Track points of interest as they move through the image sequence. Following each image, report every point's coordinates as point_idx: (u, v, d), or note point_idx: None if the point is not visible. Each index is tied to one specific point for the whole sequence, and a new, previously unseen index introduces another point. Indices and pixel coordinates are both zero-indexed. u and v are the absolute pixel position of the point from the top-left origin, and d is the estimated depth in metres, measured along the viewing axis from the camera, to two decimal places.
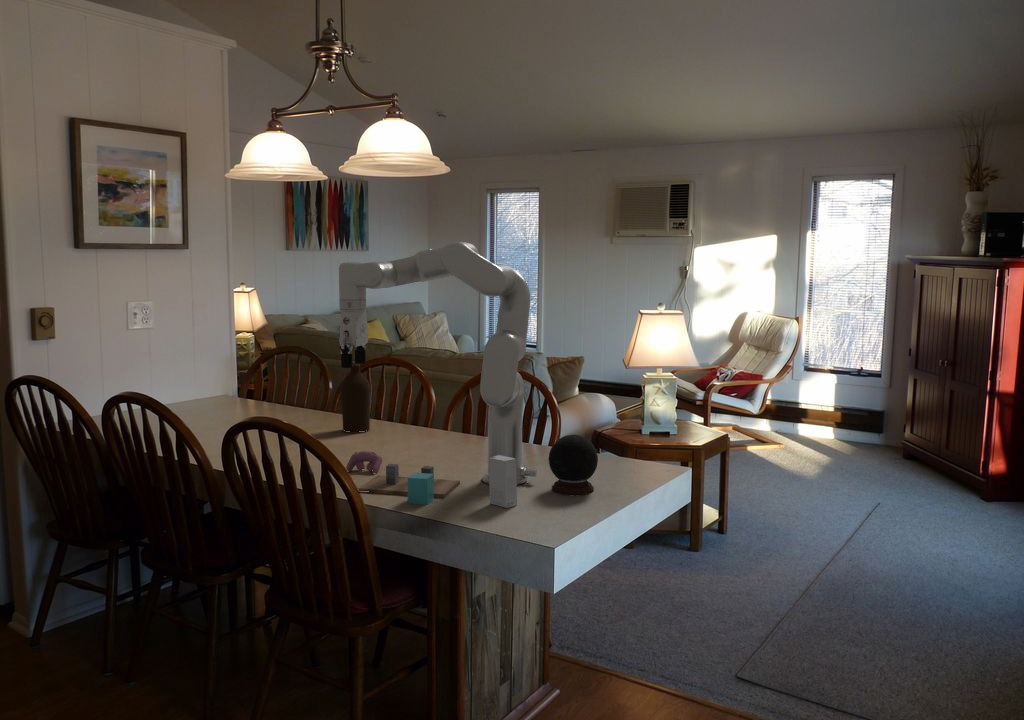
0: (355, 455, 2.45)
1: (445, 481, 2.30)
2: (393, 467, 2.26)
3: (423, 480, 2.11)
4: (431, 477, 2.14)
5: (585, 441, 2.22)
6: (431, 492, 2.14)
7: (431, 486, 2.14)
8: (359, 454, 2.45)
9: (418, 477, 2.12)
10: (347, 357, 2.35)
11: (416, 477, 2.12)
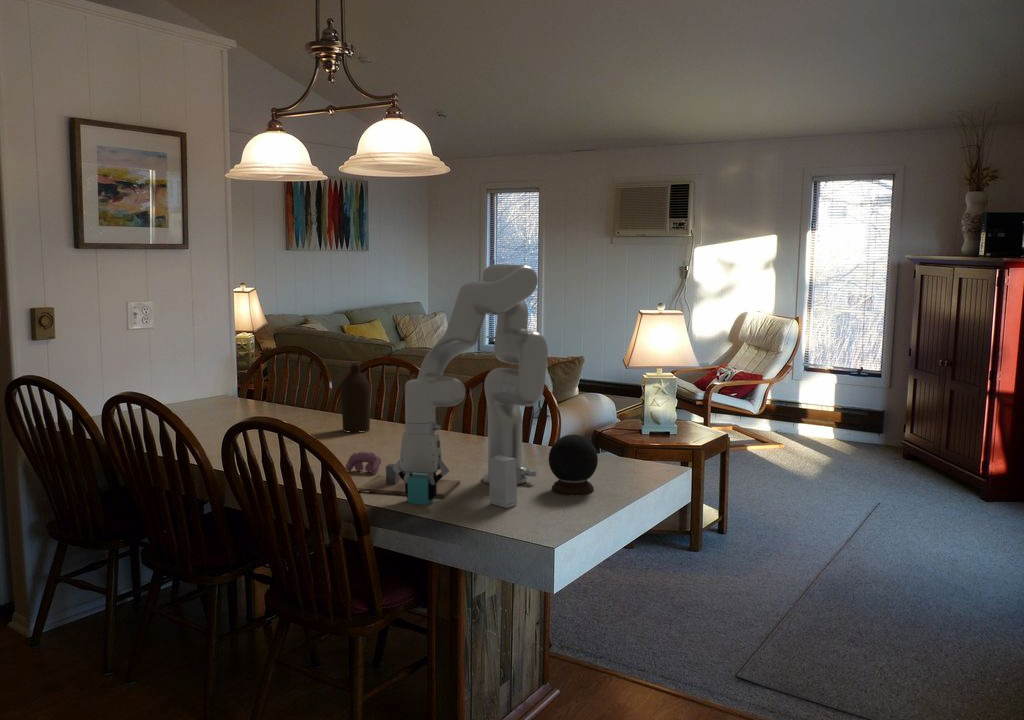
0: (354, 456, 2.44)
1: (445, 481, 2.30)
2: None
3: (422, 480, 2.11)
4: None
5: (585, 441, 2.22)
6: None
7: None
8: (358, 455, 2.44)
9: (418, 477, 2.12)
10: (435, 487, 2.14)
11: (416, 477, 2.12)
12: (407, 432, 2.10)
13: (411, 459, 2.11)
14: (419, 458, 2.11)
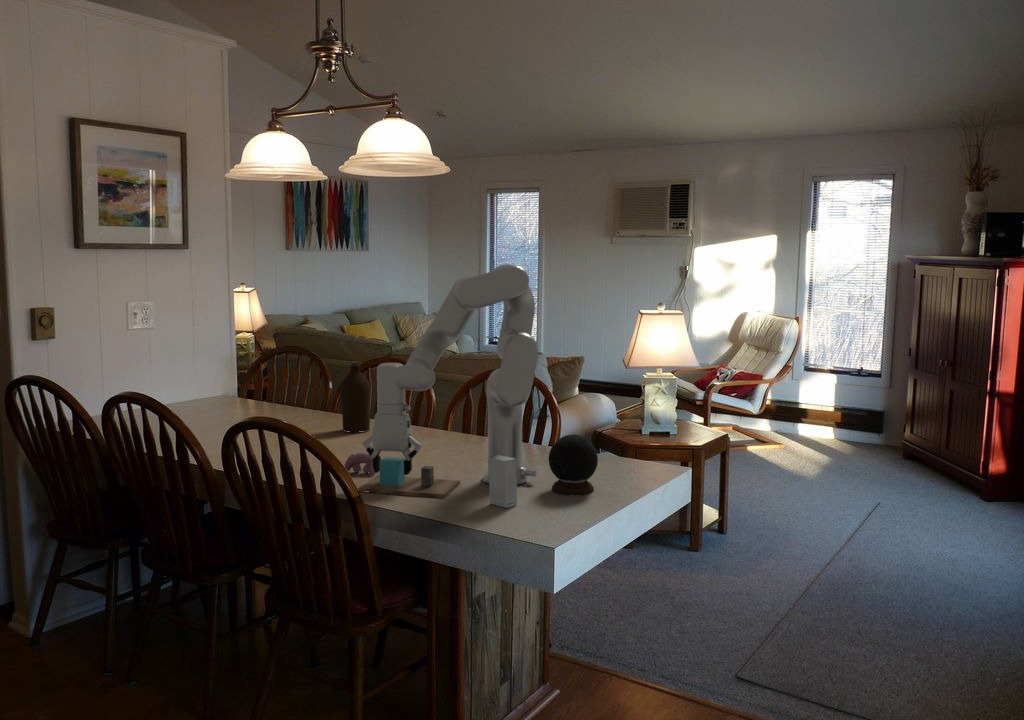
0: (352, 457, 2.43)
1: (445, 481, 2.30)
2: None
3: (393, 463, 2.24)
4: (402, 461, 2.27)
5: (585, 441, 2.22)
6: (402, 475, 2.28)
7: (402, 469, 2.27)
8: (356, 456, 2.42)
9: (389, 460, 2.25)
10: (411, 462, 2.27)
11: (387, 460, 2.25)
12: (379, 412, 2.23)
13: (383, 438, 2.24)
14: (390, 437, 2.24)
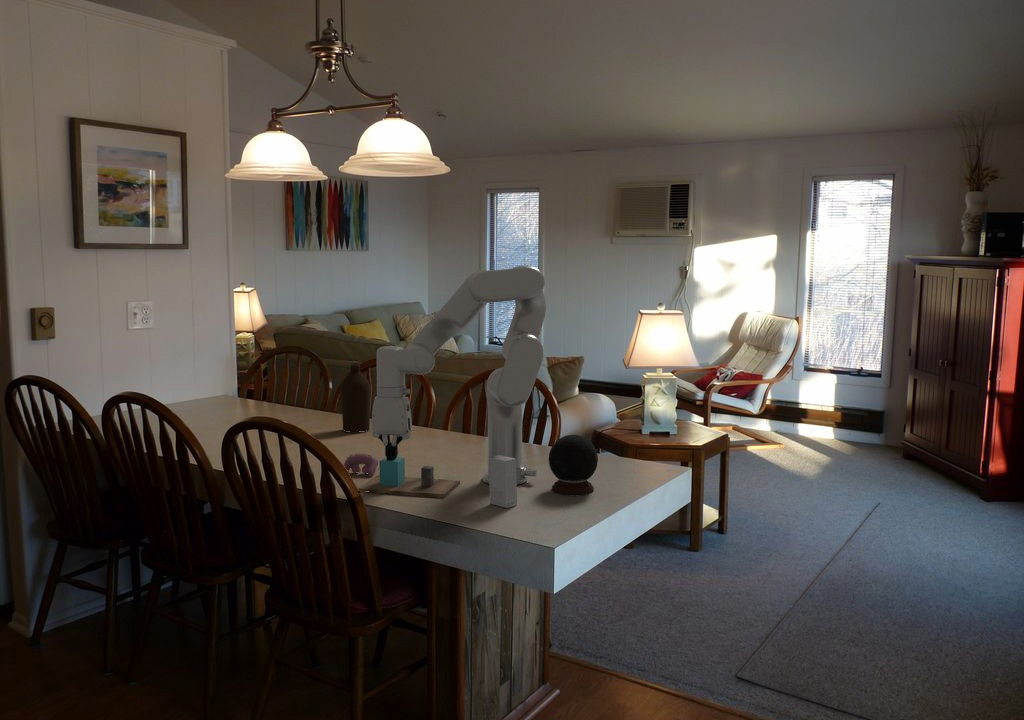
0: (350, 458, 2.42)
1: (445, 481, 2.30)
2: None
3: (393, 463, 2.24)
4: (402, 460, 2.27)
5: (585, 441, 2.22)
6: (402, 475, 2.28)
7: (402, 469, 2.27)
8: (354, 457, 2.41)
9: (389, 460, 2.25)
10: (397, 448, 2.27)
11: (387, 460, 2.25)
12: (378, 396, 2.23)
13: (382, 421, 2.24)
14: (389, 420, 2.23)
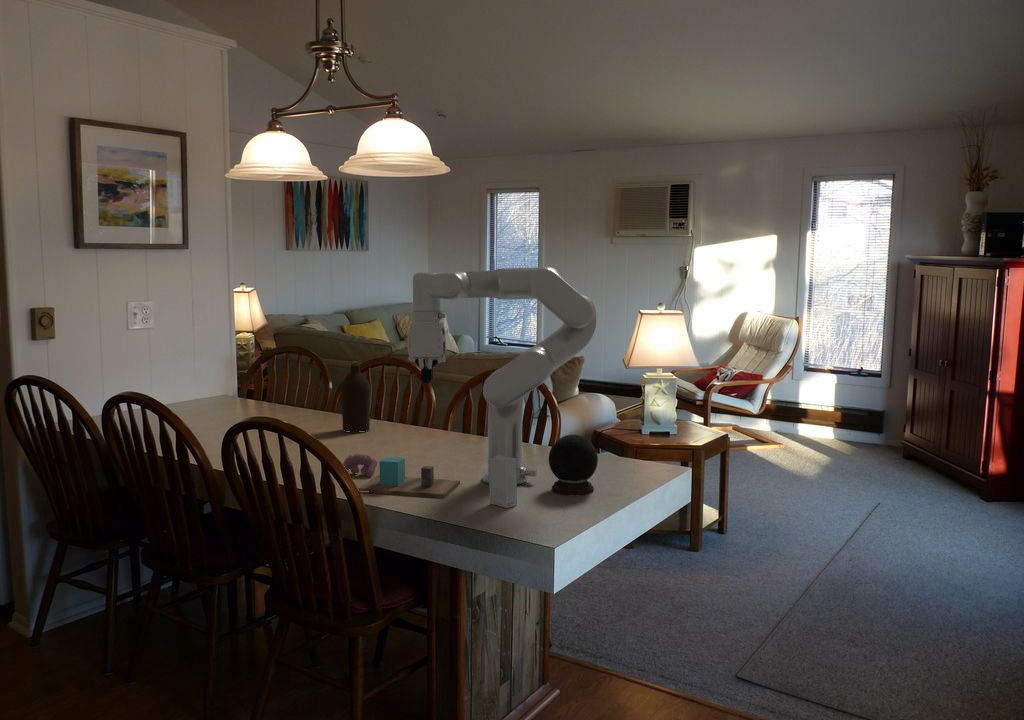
0: (349, 458, 2.41)
1: (445, 481, 2.30)
2: None
3: (393, 463, 2.24)
4: (402, 461, 2.27)
5: (585, 441, 2.22)
6: (402, 475, 2.28)
7: (402, 469, 2.27)
8: (353, 457, 2.41)
9: (389, 460, 2.25)
10: (432, 372, 2.35)
11: (387, 460, 2.25)
12: (414, 320, 2.31)
13: (418, 345, 2.32)
14: (425, 344, 2.31)
